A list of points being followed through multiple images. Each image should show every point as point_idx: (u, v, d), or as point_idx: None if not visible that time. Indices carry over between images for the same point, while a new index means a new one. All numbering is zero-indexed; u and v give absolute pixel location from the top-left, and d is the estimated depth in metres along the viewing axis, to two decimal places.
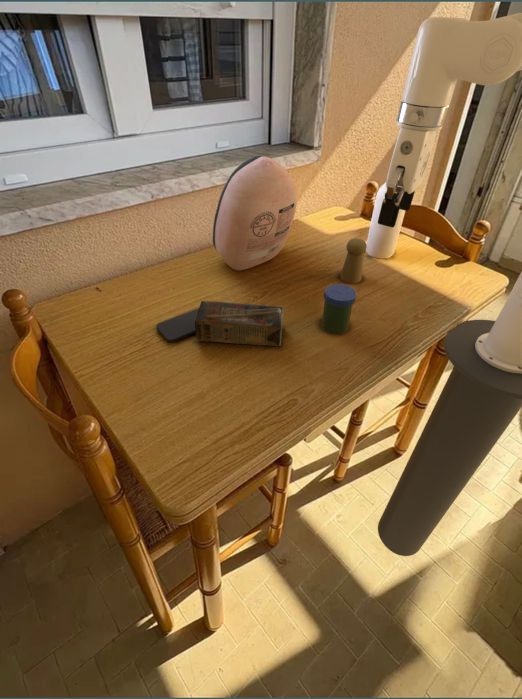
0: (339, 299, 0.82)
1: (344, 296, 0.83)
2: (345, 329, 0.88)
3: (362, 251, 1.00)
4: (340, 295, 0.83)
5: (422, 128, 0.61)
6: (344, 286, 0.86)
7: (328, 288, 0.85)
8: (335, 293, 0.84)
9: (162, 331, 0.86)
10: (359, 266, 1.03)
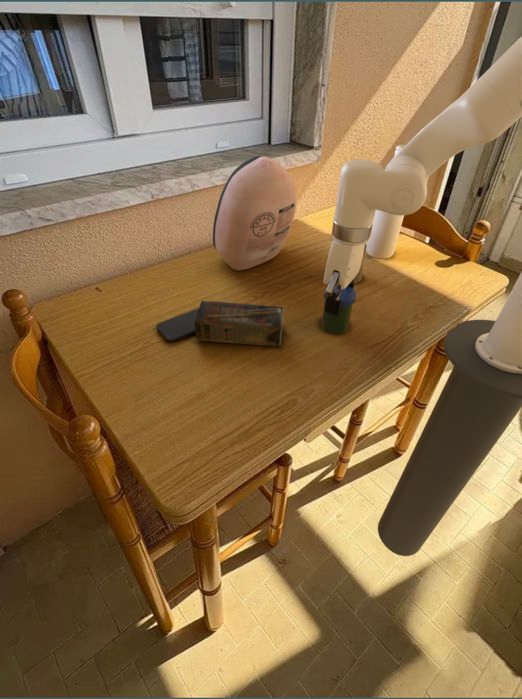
0: None
1: (344, 296, 0.83)
2: (345, 329, 0.88)
3: None
4: None
5: None
6: None
7: None
8: None
9: (162, 331, 0.86)
10: None
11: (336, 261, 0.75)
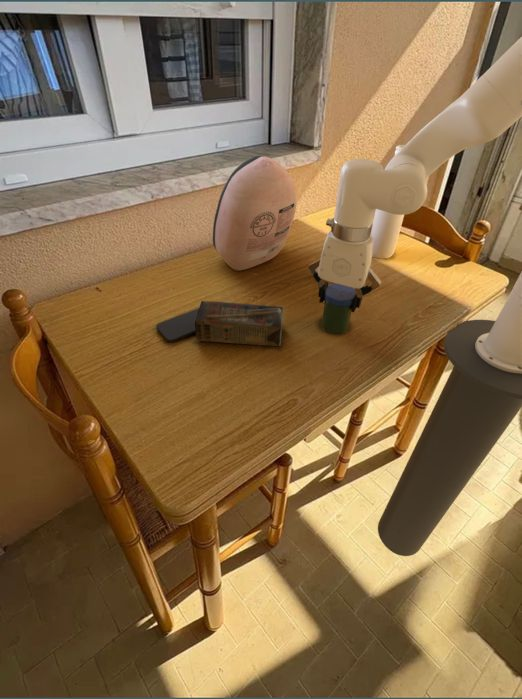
0: (354, 293, 0.84)
1: (347, 290, 0.85)
2: (345, 329, 0.88)
3: None
4: (346, 292, 0.84)
5: (331, 233, 0.76)
6: (328, 289, 0.85)
7: (336, 298, 0.82)
8: (344, 294, 0.83)
9: (162, 331, 0.86)
10: None
11: (370, 258, 0.76)
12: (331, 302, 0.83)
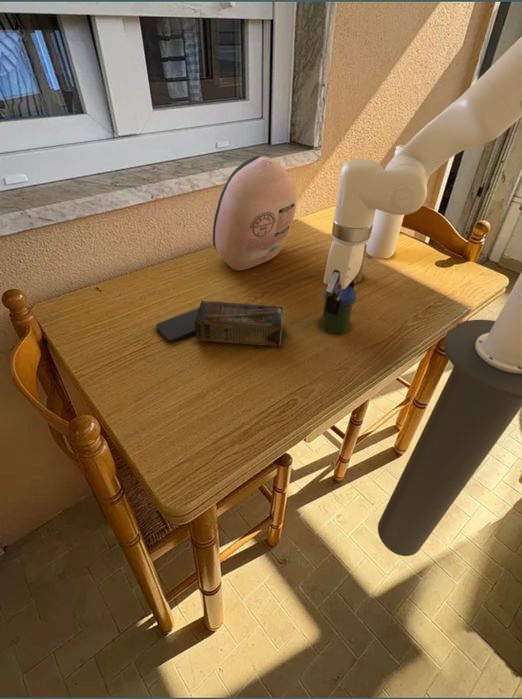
0: (352, 289, 0.85)
1: None
2: (345, 329, 0.88)
3: None
4: (345, 290, 0.85)
5: None
6: None
7: (343, 298, 0.82)
8: (346, 293, 0.84)
9: (162, 331, 0.86)
10: None
11: (336, 261, 0.75)
12: None
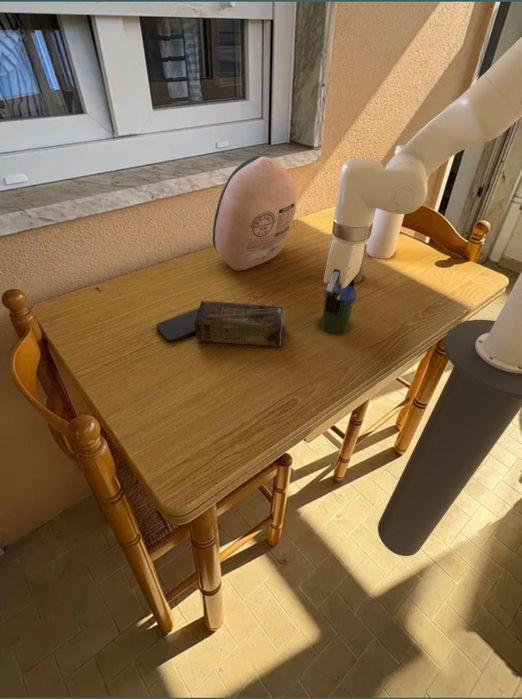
0: None
1: None
2: (345, 329, 0.88)
3: None
4: (335, 289, 0.85)
5: None
6: (350, 296, 0.83)
7: (349, 286, 0.86)
8: None
9: (162, 331, 0.86)
10: None
11: (336, 260, 0.75)
12: None
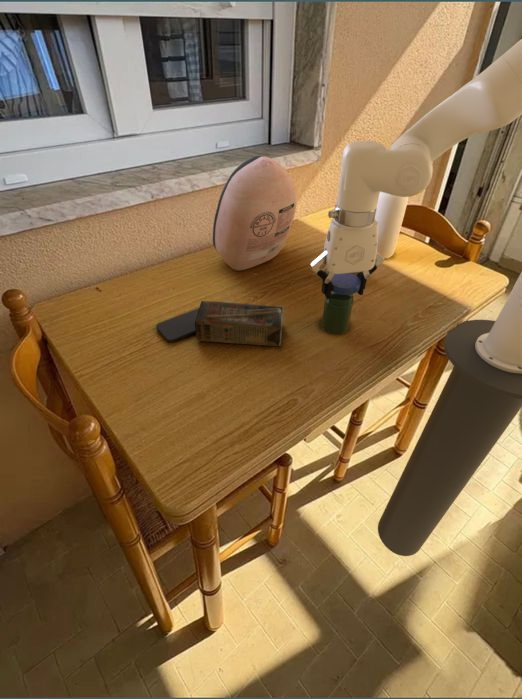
0: (349, 287, 0.80)
1: (351, 283, 0.81)
2: (345, 329, 0.88)
3: None
4: (347, 283, 0.81)
5: (339, 224, 0.72)
6: None
7: (331, 279, 0.83)
8: (341, 282, 0.81)
9: (162, 331, 0.86)
10: None
11: None
12: None
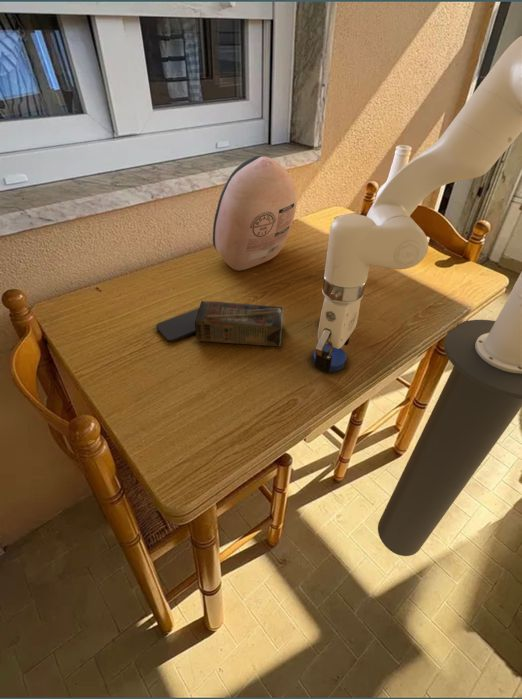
0: (342, 360, 0.79)
1: (338, 355, 0.80)
2: None
3: None
4: (335, 357, 0.80)
5: (342, 302, 0.67)
6: None
7: None
8: None
9: (162, 331, 0.86)
10: None
11: None
12: None
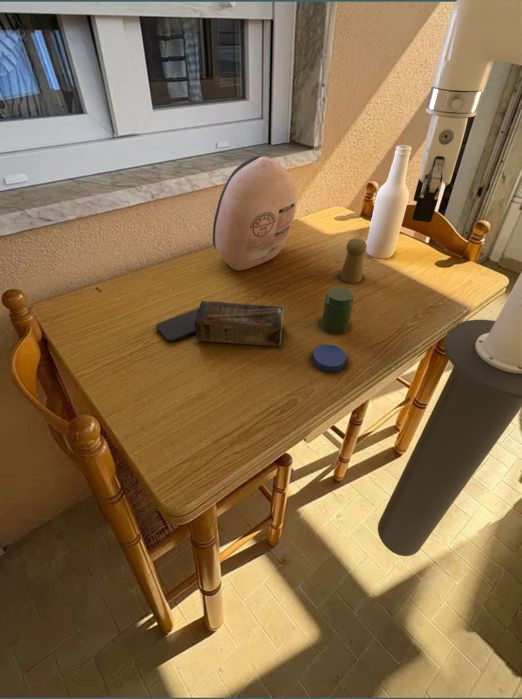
0: (342, 360, 0.79)
1: (338, 355, 0.80)
2: (345, 329, 0.88)
3: (362, 251, 1.00)
4: (335, 357, 0.80)
5: (461, 115, 0.57)
6: (319, 348, 0.82)
7: (320, 360, 0.79)
8: (330, 359, 0.79)
9: (162, 331, 0.86)
10: (359, 266, 1.03)
11: None
12: (315, 363, 0.80)
